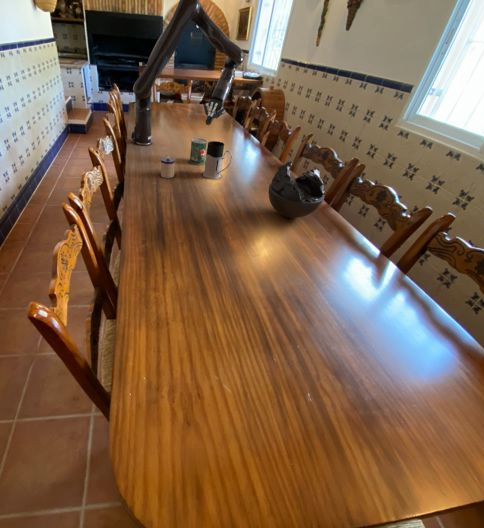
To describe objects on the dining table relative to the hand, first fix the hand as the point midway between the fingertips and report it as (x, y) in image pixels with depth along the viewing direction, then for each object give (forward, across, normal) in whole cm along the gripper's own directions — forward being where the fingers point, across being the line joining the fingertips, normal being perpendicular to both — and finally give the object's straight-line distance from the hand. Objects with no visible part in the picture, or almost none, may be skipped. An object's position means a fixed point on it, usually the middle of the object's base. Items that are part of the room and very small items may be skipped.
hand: (207, 124), depth 155 cm
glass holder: (+25, +20, -9) cm, 34 cm away
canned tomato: (+20, +3, 0) cm, 20 cm away
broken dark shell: (+31, +61, -22) cm, 72 cm away
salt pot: (+34, +2, -20) cm, 39 cm away
